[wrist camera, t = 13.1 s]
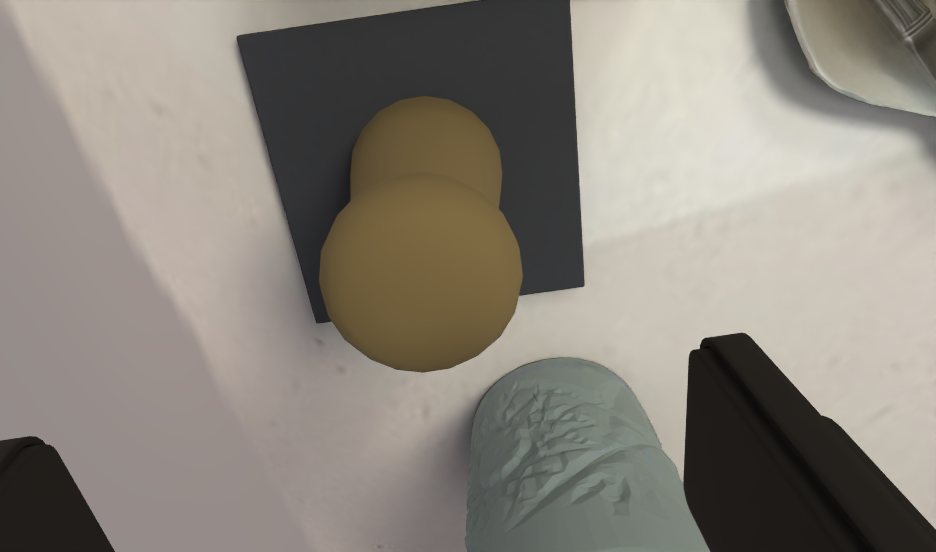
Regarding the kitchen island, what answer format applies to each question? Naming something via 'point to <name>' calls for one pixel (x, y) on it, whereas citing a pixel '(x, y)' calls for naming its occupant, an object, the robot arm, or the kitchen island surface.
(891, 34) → the avocado toast plate
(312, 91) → the mat
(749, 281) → the kitchen island surface
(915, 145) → the kitchen island surface
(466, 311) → the cork
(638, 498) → the green cylindrical cup
